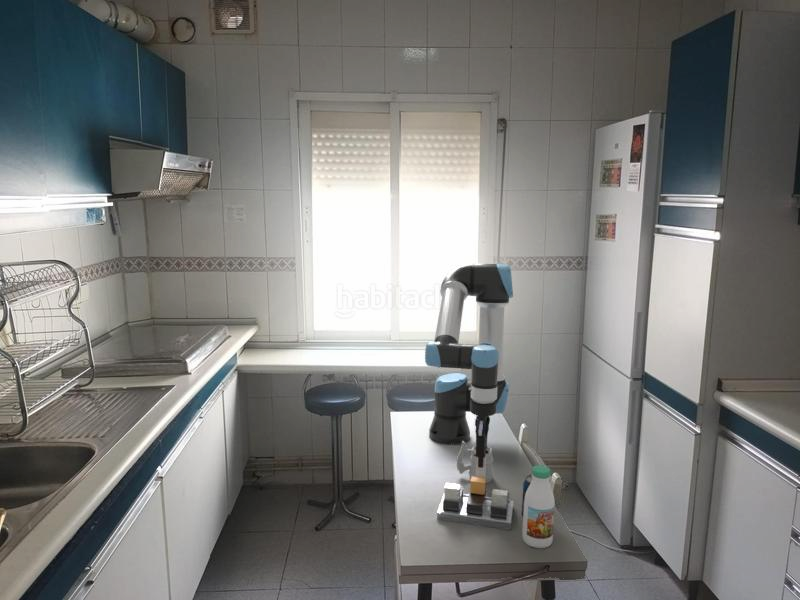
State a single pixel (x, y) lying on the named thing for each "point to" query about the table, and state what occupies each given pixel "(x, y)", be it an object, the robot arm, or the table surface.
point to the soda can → (525, 489)
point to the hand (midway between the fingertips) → (480, 475)
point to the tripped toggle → (477, 485)
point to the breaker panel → (476, 520)
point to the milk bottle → (539, 509)
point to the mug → (474, 462)
